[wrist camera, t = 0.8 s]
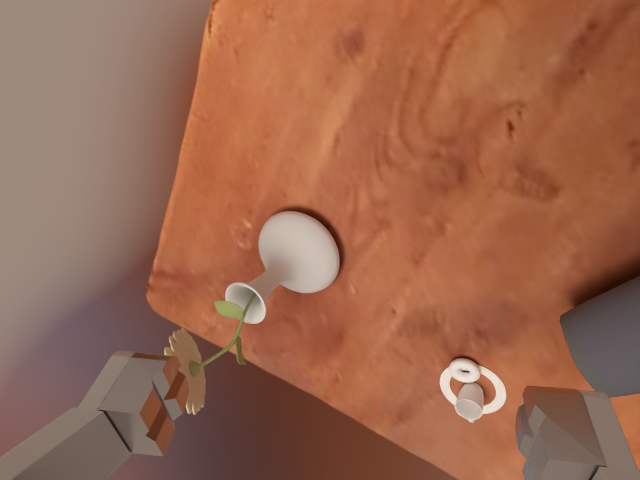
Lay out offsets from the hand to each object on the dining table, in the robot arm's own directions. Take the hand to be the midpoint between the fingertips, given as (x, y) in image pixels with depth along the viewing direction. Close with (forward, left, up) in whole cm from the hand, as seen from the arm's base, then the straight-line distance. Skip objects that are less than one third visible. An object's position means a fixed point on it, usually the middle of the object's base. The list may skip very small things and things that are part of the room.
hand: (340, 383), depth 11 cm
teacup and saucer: (+32, +7, -39) cm, 51 cm away
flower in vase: (+22, -19, -38) cm, 48 cm away
